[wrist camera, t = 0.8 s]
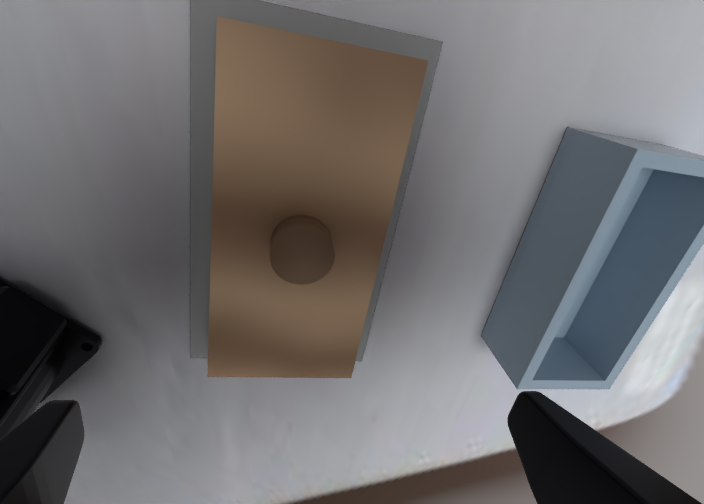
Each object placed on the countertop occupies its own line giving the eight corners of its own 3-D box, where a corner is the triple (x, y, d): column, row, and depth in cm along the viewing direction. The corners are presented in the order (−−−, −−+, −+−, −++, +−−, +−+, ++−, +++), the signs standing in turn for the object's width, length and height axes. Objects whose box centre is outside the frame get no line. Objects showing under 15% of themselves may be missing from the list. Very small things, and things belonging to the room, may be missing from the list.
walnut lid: (345, 350, 22) (355, 396, 19) (213, 347, 20) (203, 397, 17) (410, 57, 15) (441, 62, 12) (224, 18, 14) (211, 14, 11)
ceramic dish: (562, 339, 24) (609, 389, 21) (480, 336, 23) (517, 388, 20) (665, 145, 19) (751, 169, 16) (567, 127, 18) (638, 149, 14)
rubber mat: (361, 357, 22) (361, 361, 22) (191, 353, 20) (190, 357, 20) (439, 41, 15) (443, 41, 15) (191, -14, 13) (190, -15, 13)
